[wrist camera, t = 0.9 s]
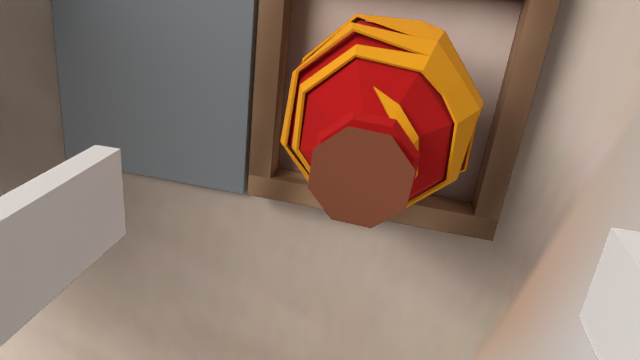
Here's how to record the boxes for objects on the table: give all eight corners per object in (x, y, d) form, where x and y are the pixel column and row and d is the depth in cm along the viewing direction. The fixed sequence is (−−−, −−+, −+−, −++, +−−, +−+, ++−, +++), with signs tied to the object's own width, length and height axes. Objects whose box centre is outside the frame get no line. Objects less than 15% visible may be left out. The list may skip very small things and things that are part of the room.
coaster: (70, 158, 40) (65, 160, 39) (53, -40, 34) (47, -40, 33) (245, 190, 38) (243, 194, 37) (257, -13, 32) (254, -12, 32)
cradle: (256, 183, 37) (247, 194, 36) (273, -69, 31) (263, -71, 29) (489, 226, 35) (492, 240, 33) (561, -35, 29) (570, -35, 27)
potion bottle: (483, 152, 33) (520, 281, 20) (329, 176, 36) (269, 304, 22) (459, -17, 30) (484, -3, 16) (291, 24, 33) (192, 66, 19)
